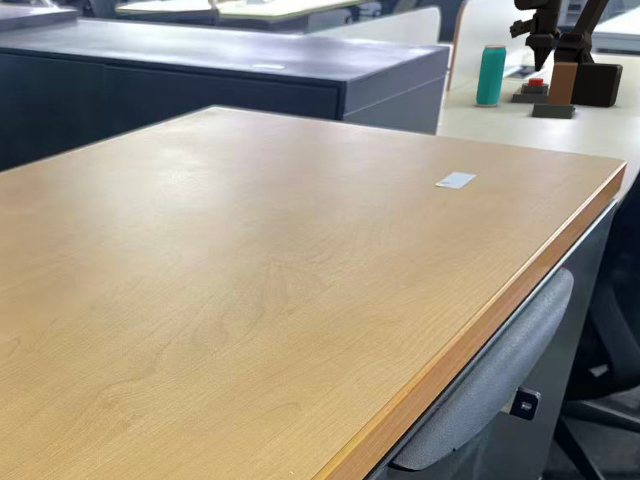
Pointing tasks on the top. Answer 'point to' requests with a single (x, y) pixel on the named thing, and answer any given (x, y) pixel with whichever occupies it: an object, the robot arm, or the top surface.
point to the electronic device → (596, 84)
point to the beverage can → (491, 75)
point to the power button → (535, 81)
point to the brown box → (562, 83)
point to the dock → (553, 111)
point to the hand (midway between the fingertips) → (537, 71)
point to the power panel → (531, 94)
